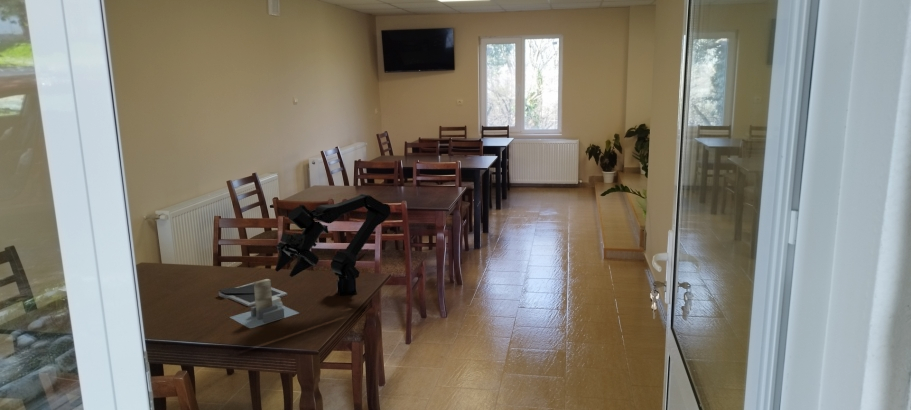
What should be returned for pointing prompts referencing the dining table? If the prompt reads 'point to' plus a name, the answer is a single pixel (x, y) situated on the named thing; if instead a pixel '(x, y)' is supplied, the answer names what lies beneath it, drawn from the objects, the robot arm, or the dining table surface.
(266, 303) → the birch panel
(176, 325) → the dining table surface
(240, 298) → the picture frame
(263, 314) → the slot rack
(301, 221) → the robot arm
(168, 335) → the dining table surface
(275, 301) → the offcut stack
